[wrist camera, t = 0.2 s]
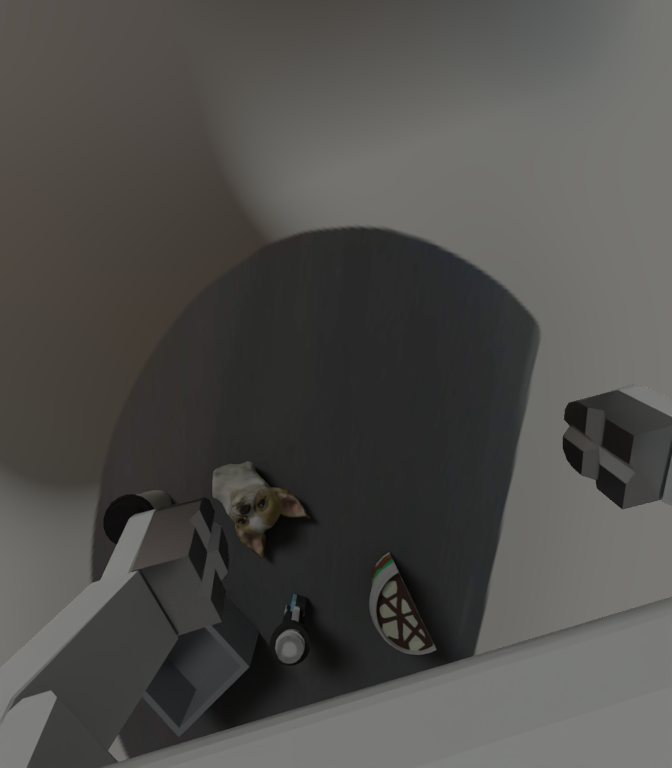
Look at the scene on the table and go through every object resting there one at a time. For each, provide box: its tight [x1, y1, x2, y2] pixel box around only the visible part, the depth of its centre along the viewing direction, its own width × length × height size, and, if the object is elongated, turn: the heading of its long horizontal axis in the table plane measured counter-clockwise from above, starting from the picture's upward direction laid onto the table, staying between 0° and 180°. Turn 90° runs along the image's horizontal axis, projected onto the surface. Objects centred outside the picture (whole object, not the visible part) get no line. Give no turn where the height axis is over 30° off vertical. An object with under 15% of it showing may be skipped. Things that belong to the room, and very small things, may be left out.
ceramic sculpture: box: [212, 461, 310, 559], centre depth 57 cm, size 11×9×15 cm
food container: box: [369, 551, 436, 655], centre depth 56 cm, size 12×6×10 cm, turn 26°
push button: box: [270, 594, 310, 666], centre depth 55 cm, size 7×5×10 cm
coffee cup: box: [104, 490, 172, 544], centre depth 55 cm, size 7×7×10 cm
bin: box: [142, 596, 259, 737], centre depth 56 cm, size 13×13×8 cm
